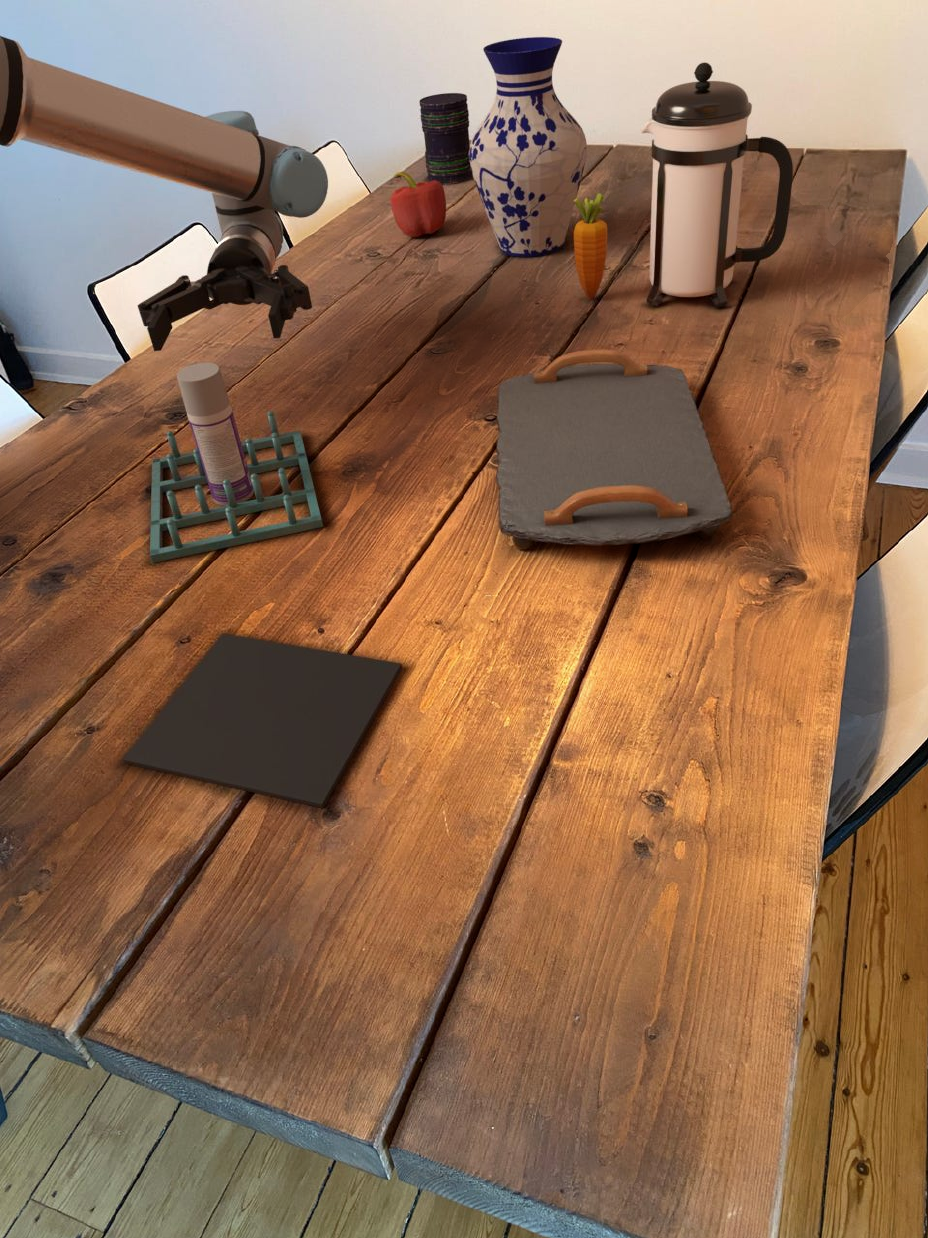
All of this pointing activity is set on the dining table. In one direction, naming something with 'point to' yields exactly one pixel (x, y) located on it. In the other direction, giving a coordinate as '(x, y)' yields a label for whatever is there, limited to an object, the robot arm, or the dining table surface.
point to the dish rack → (230, 497)
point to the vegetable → (419, 206)
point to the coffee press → (704, 188)
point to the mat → (267, 718)
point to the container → (215, 431)
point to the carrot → (590, 245)
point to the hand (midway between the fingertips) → (213, 333)
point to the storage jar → (446, 137)
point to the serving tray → (604, 455)
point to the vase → (527, 150)
